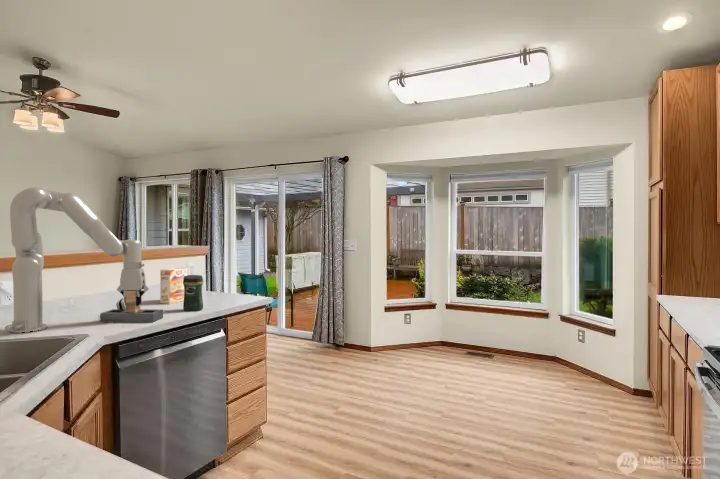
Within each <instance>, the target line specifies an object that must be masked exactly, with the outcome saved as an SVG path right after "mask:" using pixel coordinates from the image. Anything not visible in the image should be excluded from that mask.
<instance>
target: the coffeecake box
mask: <svg viewBox="0 0 720 479" xmlns="http://www.w3.org/2000/svg"><path fill="white" fill-rule="evenodd" d="M159 270H160V278H159V279H160V280H159V281H160V285H159V286H160V287H159V288H160V289H159V291H160V292H159V293H160V294H159V296H160V297H159V301H160V304H166V305H172V304H176V302H177V303H180V301H181V302H184V285H183V279H184V276H187V275H189V274H188V270H189V268H188V267H174V268H165V269H164V268H163V269H159Z"/></svg>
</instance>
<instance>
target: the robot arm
mask: <svg viewBox="0 0 720 479" xmlns="http://www.w3.org/2000/svg"><path fill="white" fill-rule="evenodd" d="M37 209H42V210H48V211H49V210H50V211H55V212H56V211H57V212H64V213H65V214H66V216H68V218H70V219H71V220H72V222H74V223H75V225H76V226H77V227H78V228H79V229H81V231H82V232H83V233H85V235H87V236H88V237H89V238H90V239H91V240H92V241H94V243H95V244H96V245H97V246H98V247H99V248H100V249H101V250H102V251H103V252H104V253H105V254H106V255H108V257H114V258H115V257H119V256H120V255H123V257H122V258H123V261H122V263H123V264H122V266H123V267H122V269H121V273H120V281H119V285H118V287H117V288H116V291H117V292H118V293H120V294H121V295H122V298H123V297H124V303H125V305H126V298H125V291H128V290H129V291H134V290H136V293H137V297H136V305H140V306H141V304H142V297H143V295H144V294H145V293H146V292H148V291H149V290H150V289H149V287H148V286H147V285H146V284H147V281H146V273H145V270H144V267H145V264H144V263H143V262H142V242H141V240H140V239H126V240H124V239H123V240H120V239H119V238H117V237H116V236H115V234H114V233H112V231H111V230H110V229H109V228H108V227H107V226H106V225H105V224H104V222H103V221H102V219H101V218H100V217H99V216H98V215H97V214H96V213H95V212H94V211H93V210H92V209H91V208H90V207H89V206H88V205H87V204H86V202H85V201H84V200H83V199H82V198H80V196H79V195H78V194H76V193H74V192H60V191H55V190H54V191H52V190H49V189H44V188H42V187H39V186H33V187H32V186H31V187H28V188H25V189H23V190H22V191H19V192H18V193H17V194H16V195H15V196H14V197H13V199H12V200H11V203H10V205H9V217H10V218H9V219H10V232H11V234H10V235H11V237H10V238H11V239H10V240H11V241H10V242H11V245H12V246H13V248H14V249H15V250H14V251H15V260H14V262H13V263H12V267H11V273H12V274H11V275H12V284H13V290H12V291H13V292H12V293H13V320H12V321H11V324H8V325H5V327H4V329H5V331H8V332H9V333H12V332H13V334H19V333H20V334H23V333H22V332H25V333H31V332H30V331H33V332H38V330H39V331H42V330H45V329H47V328H48V324H46V323H43V322H44V321H43V318H44V317H43V313H44V312H43V272H42V271H43V268H44V266H45V258H44V247H43V239H42V235H41V234H40V233H39V232H38V225H37V215H36V214H37V213H36V212H37Z"/></svg>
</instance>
